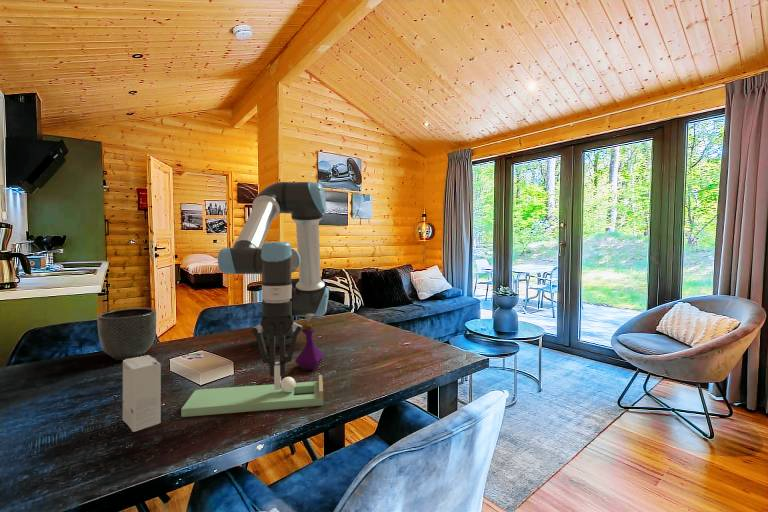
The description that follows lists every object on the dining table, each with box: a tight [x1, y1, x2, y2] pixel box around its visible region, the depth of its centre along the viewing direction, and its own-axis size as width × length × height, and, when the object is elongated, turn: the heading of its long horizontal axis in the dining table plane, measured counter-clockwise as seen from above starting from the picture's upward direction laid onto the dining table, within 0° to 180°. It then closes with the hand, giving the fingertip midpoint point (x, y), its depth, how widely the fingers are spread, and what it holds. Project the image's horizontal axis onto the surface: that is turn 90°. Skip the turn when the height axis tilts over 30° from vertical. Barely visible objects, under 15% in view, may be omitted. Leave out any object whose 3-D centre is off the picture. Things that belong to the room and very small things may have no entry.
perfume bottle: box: [295, 314, 325, 371], centre depth 121 cm, size 8×8×18 cm
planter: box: [96, 307, 158, 361], centre depth 131 cm, size 17×17×16 cm
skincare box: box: [122, 354, 162, 433], centre depth 86 cm, size 8×6×15 cm
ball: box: [280, 376, 297, 393], centre depth 98 cm, size 4×4×4 cm
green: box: [180, 374, 324, 418], centre depth 97 cm, size 11×34×4 cm, turn 101°
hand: (277, 387), depth 98 cm, fingers closed
